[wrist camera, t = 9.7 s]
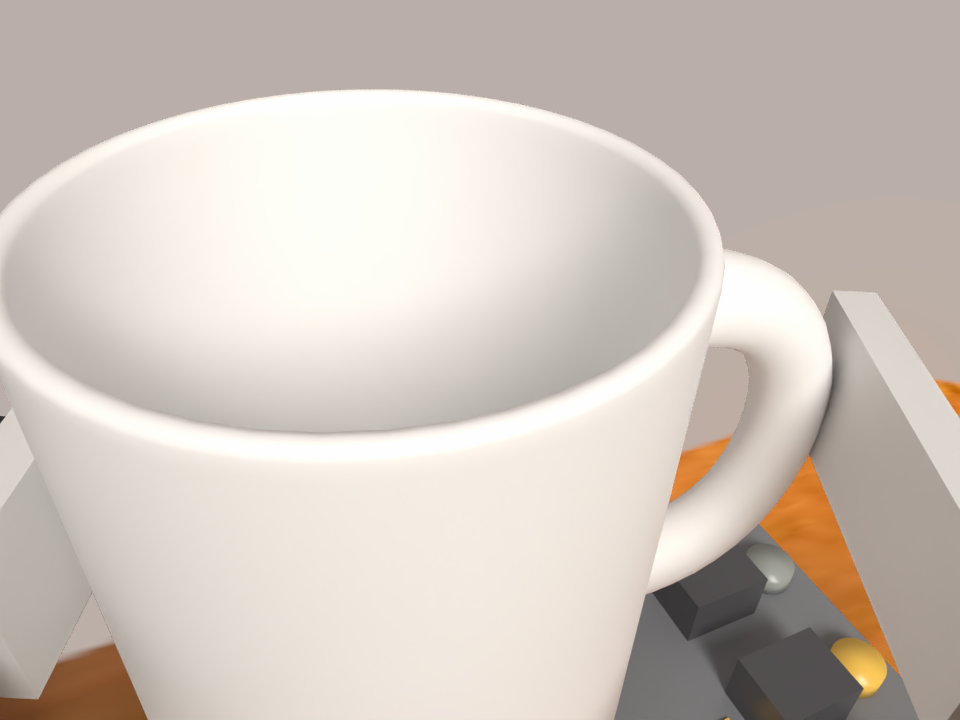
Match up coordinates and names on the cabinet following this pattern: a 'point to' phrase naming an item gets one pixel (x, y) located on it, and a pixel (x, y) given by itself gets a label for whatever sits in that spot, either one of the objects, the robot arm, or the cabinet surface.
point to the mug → (389, 400)
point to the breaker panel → (754, 648)
